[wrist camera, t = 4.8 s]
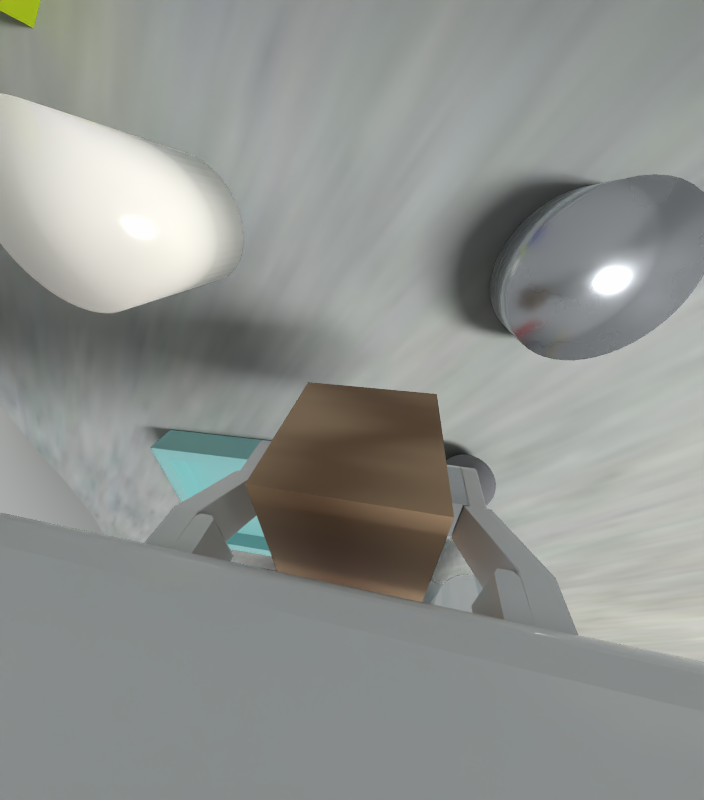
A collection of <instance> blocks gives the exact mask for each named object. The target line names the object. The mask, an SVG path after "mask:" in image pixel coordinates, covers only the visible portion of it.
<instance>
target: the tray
mask: <svg viewBox="0 0 704 800" xmlns="http://www.w3.org/2000/svg"><path fill="white" fill-rule="evenodd" d="M261 441H263V440H258V439H249V438H240V437H231V436H222V435H213V434H204V433H195V432H186V431H177V430H170V431H168V432H167V433H166V434H165V435H164V436H163V437H162V438H161V439H160V440H158V441H157V442H156V443H155V444H154V445H153V446H152V447H151V450H152V451H153V453H154V455H155V457H156V458H157V460H158V462H159V463H160V465H161V467H162V469H163V470H164V472H165V474H166V476H167V477H168V479H169V481H170V482H171V484H172V486H173V488H174V489H175V491H176V493H177V495H178V496H179V498H180V500H181V501H182V502H183V501H185V500H187V499H189V498H190V497H192V496H194V495H195V494H197V493H199V492H201V491H202V490H204V489H206V488H207V487H209V486H211V485H213V484H214V483H216V482H218V481H219V480H221V479H223V478H225V477H226V476H228V475H230V474H231V473H233V472H235V471H240V470H241V469H242V467H243V466H244V464H245V463H246V462H247V460H248V459H249V457H250V456H251V454H252V453H253V451H254V450H255V448H256V447H257V445H258V444H259V443H260V442H261ZM265 441H267V440H265ZM226 542H227V544H228V546H229V548H230V549H232V550H238V551H244V552H250V553H256V554H262V555H268V556H271V553H270V550H269V548H268V545H267V542H266V540H265V537H264V534H263V531H262V529H261V526H260V523H259V521H258V518H257V515H256V516H255V517H254V518H253V519H252V520H250V521H249V522H248V523H247V524H246V525H245V526H244V527H242V528H241V529H240V530H239V531H238V532H237V533H235V534H234V535H233V536H232V537H231V538H230V539H229V540H227V541H226Z"/></svg>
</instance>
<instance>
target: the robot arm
mask: <svg viewBox="0 0 704 800" xmlns="http://www.w3.org/2000/svg"><path fill="white" fill-rule="evenodd" d="M270 443H271V441H265V440H263V441H261V442H260V443H259V444H258V445H257V447H256V448H255V450H254V451H253V453H252V454H251V456H250V457H249V459H248V460H247V462H246V463H245V464H244V466H243V467H242V469H241V470H240V471H235V472H233V473H231V474H230V475H228V476H226V477H225V478H223V479H221V480H219V481H218V482H216V483H214V484H213V485H211V486H209V487H207V488H206V489H204V490H202V491H201V492H199V493H197V494H195V495H194V496H192V497H190V498H189V499H187V500H185V501H183V502H182V503H180V504H178V505H177V506H175V507H174V508H173V509H172V510H171V511H170V512H169V514H168V515H167V516H166V517H165V518H164V520H163V521H162V522H161V523H160V524H159V526H158V527H157V528H156V529H155V531H154V532H153V533H152V534H151V535H150V537H149V538H148V539H147V540H146V541H145V543H141V542H137V541H132V540H127V539H122V538H118V537H113V536H108V535H104V534H99V533H94V532H89V531H85V530H80V529H75V528H70V527H66V526H61V525H56V524H51V523H47V522H42V521H37V520H33V519H28V518H23V517H19V516H14V515H10V514H4V513H0V800H704V662H701V661H697V660H692V659H687V658H683V657H678V656H673V655H668V654H664V653H659V652H654V651H650V650H645V649H640V648H636V647H631V646H626V645H621V644H617V643H612V642H607V641H603V640H598V639H593V638H588V637H584V636H579V635H578V633H577V631H576V628H575V626H574V623H573V621H572V618H571V616H570V613H569V611H568V608H567V606H566V603H565V601H564V598H563V596H562V593H561V591H560V588H559V586H558V583H557V581H556V578H555V577H554V576H553V575H552V574H551V573H550V572H549V571H548V570H547V568H546V567H545V566H544V565H543V564H542V563H541V562H540V561H539V560H538V559H537V558H536V557H535V556H534V555H533V554H532V552H531V551H530V550H529V549H528V548H527V547H526V546H525V545H524V544H523V543H522V542H521V541H520V540H519V539H518V538H517V536H516V535H515V534H514V533H513V532H512V531H511V530H510V529H509V528H508V527H507V526H506V525H505V524H504V523H503V522H502V521H501V519H500V518H499V517H498V516H497V515H496V514H495V513H494V512H493V511H492V510H490V509H487V508H486V504H485V501H484V497H483V493H482V489H481V485H480V482H479V478H478V474H477V471H476V469H475V468H468V467H459V466H452V465H447V470H448V477H449V484H450V491H451V498H452V505H453V512H454V519H453V522H452V525H451V527H450V530H449V533H448V535H447V536H452V539H453V541H454V543H455V544H456V546H457V547H458V549H459V551H460V552H461V554H462V555H463V557H464V559H465V560H466V562H467V563H468V565H469V567H470V568H471V570H472V572H473V573H474V575H475V576H476V578H477V580H478V581H479V583H480V584H481V586H482V588H483V589H482V591H481V592H480V594H479V595H478V597H477V598H476V600H475V601H474V603H473V604H472V605H471V606H472V613H471V612H466V611H461V610H457V609H452V608H447V607H443V606H438V605H433V604H428V603H424V602H419V601H414V600H410V599H405V598H400V597H396V596H391V595H386V594H381V593H377V592H372V591H367V590H363V589H358V588H353V587H349V586H344V585H339V584H334V583H330V582H325V581H320V580H316V579H311V578H306V577H302V576H297V575H292V574H287V573H283V572H278V571H273V570H269V569H264V568H259V567H254V566H250V565H245V564H240V563H236V562H231V559H232V557H233V555H232V551H231V550H230V548H229V546H228V544H227V542H226V541H227V540H229V539H230V538H231V537H232V536H233V535H234V534H235V533H237V532H238V531H239V530H240V529H241V528H242V527H244V526H245V525H246V524H247V523H248V522H249V521H250V520H252V519H253V518H254V517H255V516H256V512H255V510H254V507H253V504H252V502H251V499H250V496H249V494H248V491H247V488H246V485H245V483H246V482H247V480H248V478H249V477H250V475H251V473H252V472H253V470H254V469H255V467H256V465H257V464H258V462H259V461H260V459H261V457H262V456H263V454H264V453H265V451H266V449H267V448H268V446H269V445H270Z"/></svg>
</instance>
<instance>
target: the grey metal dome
mask: <svg viewBox="0 0 704 800" xmlns="http://www.w3.org/2000/svg"><path fill="white" fill-rule="evenodd" d="M703 275H704V192H703V191H701V190H700V189H699V188H698V187H696V186H695V185H694V184H692V183H690V182H688V181H686V180H684V179H681V178H677V177H673V176H669V175H643V176H636V177H631V178H626V179H621V180H616V181H611V182H605V183H600V184H595V185H590V186H586V187H581V188H577V189H574V190H572V191H569V192H566V193H564V194H562V195H560V196H558V197H556V198H554V199H552V200H550V201H549V202H547V203H545V204H544V205H542V206H541V207H540V208H538V209H537V210H536V211H534V212H533V213H532V214H531V215H530V216H529V217H528V218H526V219H525V220H524V221H523V222H522V223H521V224H520V226H519V227H518V228H517V229H516V230H515V231H514V232H513V234H512V235H511V236H510V238H509V239H508V240H507V242H506V244H505V245H504V247H503V249H502V250H501V252H500V254H499V256H498V259H497V261H496V264H495V266H494V269H493V273H492V278H491V285H490V296H491V302H492V307H493V309H494V312H495V314H496V316H497V317H498V319H499V320H500V322H501V323H502V324H503V325H504V326H505V327H506V328H507V329H508V330H509V331H510V332H511V333H512V334H513V335H514V336H515V337H516V338H517V339H518V340H519V341H520V342H521V343H522V344H523V345H525V346H526V347H527V348H528V349H530V350H531V351H533V352H535V353H537V354H539V355H541V356H544V357H548V358H552V359H559V360H579V359H587V358H592V357H597V356H600V355H604V354H607V353H610V352H613V351H615V350H618V349H620V348H622V347H624V346H627V345H629V344H631V343H633V342H634V341H636V340H638V339H640V338H641V337H643V336H645V335H646V334H648V333H649V332H651V331H652V330H654V329H655V328H656V327H658V326H659V325H660V324H661V323H663V322H664V321H665V320H666V319H667V318H669V317H670V316H671V315H672V314H673V313H674V312H675V311H676V310H677V309H678V308H679V307H680V306H681V305H682V304H683V303H684V301H685V300H686V299H687V298H688V297H689V295H690V294H691V293H692V291H693V290H694V289H695V288H696V286H697V284H698V283H699V281H700V280H701V278H702V276H703Z"/></svg>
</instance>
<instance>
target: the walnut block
mask: <svg viewBox="0 0 704 800" xmlns="http://www.w3.org/2000/svg"><path fill="white" fill-rule="evenodd" d="M245 485H246V488H247V491H248V494H249V496H250V499H251V502H252V504H253V507H254V510H255V512H256V515H257V518H258V521H259V523H260V526H261V529H262V531H263V534H264V537H265V540H266V542H267V545H268V548H269V550H270V553H271V556H272V558H273V561H274V564H275V567H276V569H277V571H278V572H283V573H287V574H292V575H297V576H302V577H306V578H311V579H316V580H320V581H325V582H330V583H334V584H339V585H344V586H349V587H353V588H358V589H363V590H367V591H372V592H377V593H381V594H386V595H391V596H396V597H400V598H405V599H410V600H414V601H419V602H422V601H423V599H424V596H425V594H426V591H427V588H428V586H429V583H430V580H431V578H432V575H433V572H434V570H435V567H436V564H437V562H438V559H439V556H440V554H441V551H442V549H443V546H444V543H445V541H446V538H447V535H448V533H449V530H450V527H451V525H452V522H453V519H454V512H453V505H452V498H451V491H450V484H449V477H448V470H447V463H446V456H445V449H444V442H443V435H442V428H441V421H440V414H439V407H438V400H437V394H429V393H418V392H407V391H396V390H385V389H375V388H364V387H353V386H342V385H331V384H321V383H310V382H308V384H307V385H306V387H305V389H304V390H303V392H302V393H301V395H300V397H299V398H298V400H297V401H296V403H295V405H294V406H293V408H292V409H291V411H290V413H289V414H288V416H287V417H286V419H285V421H284V422H283V424H282V425H281V427H280V429H279V430H278V432H277V433H276V435H275V437H274V438H273V440H272V441H271V443H270V445H269V446H268V448H267V449H266V451H265V453H264V454H263V456H262V457H261V459H260V461H259V462H258V464H257V465H256V467H255V469H254V470H253V472H252V473H251V475H250V477H249V478H248V480H247V482H246V483H245Z"/></svg>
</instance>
